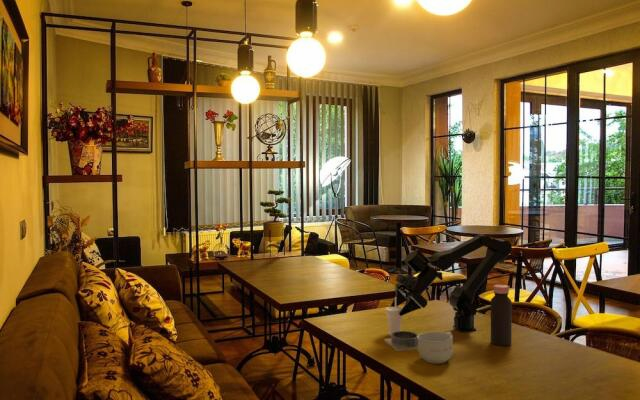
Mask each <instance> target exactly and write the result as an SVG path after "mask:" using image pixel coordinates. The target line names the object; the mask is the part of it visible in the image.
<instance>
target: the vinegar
mask: <svg viewBox="0 0 640 400" xmlns="http://www.w3.org/2000/svg"><path fill="white" fill-rule="evenodd" d="M509 293H510V288H509V285H507V284H494V285H493V294H494V296H493V297H491V298H490V343H491V344H493V345H495V346H500V347H501V346H502V347H507V346H510V345H512V330H513V329H512V323H513V322H512V316H513V315H512V313H513V312H512V311H513V310H512V309H513V307H512V306H513V305H512V300H511V298H510V297H509Z"/></svg>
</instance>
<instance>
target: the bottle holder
mask: <svg viewBox="0 0 640 400" xmlns="http://www.w3.org/2000/svg"><path fill="white" fill-rule="evenodd" d="M418 335H419V333H417V332H414V331H410V330H408V331H407V330H400V331H397V332H394V333H392V335H391V336H390V338H384V339H383V341H384V343H386V344H387V345H389V346H390V347H391V348H392V349H393V350H395V351H396V352H405V351H406V352H407V351H413V350H418V339H417V336H418Z"/></svg>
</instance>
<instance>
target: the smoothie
mask: <svg viewBox="0 0 640 400" xmlns="http://www.w3.org/2000/svg"><path fill="white" fill-rule="evenodd" d="M394 297H395V296H394ZM402 308H403V307H400V306H397V307H396V297H395V307H390V306H388V307H386V308H385V312H386V317H387V324H388V332H389V334H388V335H389V337H391V335H392V333H394V332H397V331H401V326H402V317H403V315H402V316H400V315H399V313H400V311H401V310H402Z"/></svg>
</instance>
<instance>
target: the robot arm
mask: <svg viewBox="0 0 640 400" xmlns="http://www.w3.org/2000/svg"><path fill="white" fill-rule="evenodd" d="M482 247H485V248H486V251H485V256H484V258H483V259H482V260H481V262H480V263H479V264H478V266H477V267H476V268H475V270H474V271H473V273H472V274H471V275H470V276H469V278H467V280H466V282H465V283H464V284H463V285H461V286H458V285H455V287H454V288H453V290H452V291H451V292H450V293H449V298H448V303H449V305H450V306H451V307H452V309H453V311H455V312H454V317H453V325H452V327H453V329H455V330H456V331H457V330H458V331H460V332H463V333H464V332H471V331H477V328H475V316H476V315H477V312H478V310H477V308H476V307H475V306H474V305H473V302H474V298H475V294H476V292H477V291H478V289H479V288H480V287H481V285H482V284H483V283H484V281H485V280H486V278H488V275H490V273H491V272H492V271H493V269H494V268H495V266H496V265H497V264H498V263H500V262H501V261H503V260H505V259H506V258H507V257H508V256H509V255H510V254H511V253H512V252H513V248H512V243H511V242H510V241H508V240H504V239H500V238H493V237H490V236H488V235H486V234H481V233H479V234H477V235H474V237H472V238H469V239H468V240H466V241H464V242H462V243H460V244H458V245H456V246H454V247H453V248H450V249H446V250H445V249H444V250H441V251H438V252H435V253H433V254H432V255H430V256H425V255H424V254H423V253H422V251H421V250H420V249H418V248H415V250H414V251H412V252H410V253H408V254H407V255H406V256H405V258H404V263H406V264H407V265H408V266H409V268H410V269H411V270H413V272H415V273H418V274H416V276H415V275H413V276H412V275H410V274H406V275H405V274H402V273H400V272H398V273H397V276H396V278H395V280H394V281H395V282H397V283H396V284H395V285H394V290H395V296H394V298H393V300H392V301H391V304H390V306H389V307H395V297H396V307H400V305H402V304H404V303H405V304H404V305H403V307H401V308H402V310H401V311H400V313H399V315H400V316H402V317H403V316H405V315H406V314H409V313H411V312H412V313H413V312H414V311H417V310H421V309H425V308H426V306H427V305H428V300H427V299H426V298H425V297H424V295H423V293H425V291H429V290H430V288H429V287H430V285H432V284H433V282H434V281H435V280H436V279H438V280H440V281H443V272H442V271H448V270H449V268H451V267H452V266H454V265H455V263H456V262H457V261H458V260H459V259H461V258H464V257H465V256H467V255H469V254H471V253H473V252H474V251H477V250H478V249H480V248H482ZM437 269H438V270H441V271H438V270H437Z"/></svg>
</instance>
